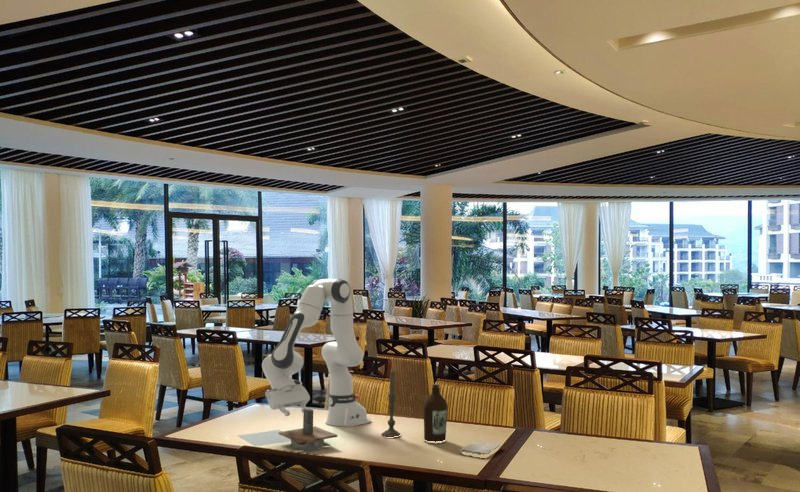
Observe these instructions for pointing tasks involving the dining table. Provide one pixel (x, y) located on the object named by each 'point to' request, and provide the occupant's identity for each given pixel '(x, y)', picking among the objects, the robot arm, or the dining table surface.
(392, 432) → the candlestick holder
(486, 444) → the washcloth
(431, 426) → the olive oil
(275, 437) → the mat
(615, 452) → the dining table surface
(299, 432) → the lid
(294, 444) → the dish
